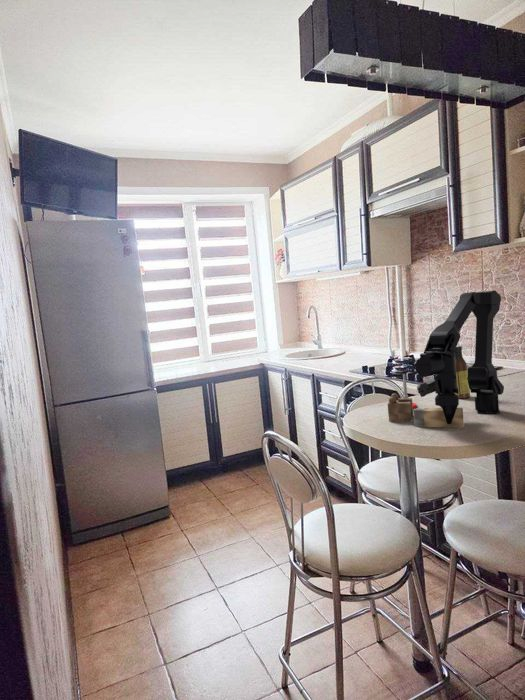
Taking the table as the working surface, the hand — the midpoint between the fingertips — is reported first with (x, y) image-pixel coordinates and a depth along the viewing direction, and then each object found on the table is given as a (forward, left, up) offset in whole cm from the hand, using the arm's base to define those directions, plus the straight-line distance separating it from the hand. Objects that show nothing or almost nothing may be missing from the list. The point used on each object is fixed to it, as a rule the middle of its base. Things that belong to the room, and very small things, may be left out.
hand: (449, 421), depth 133 cm
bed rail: (+3, 0, -1) cm, 3 cm away
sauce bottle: (-3, -39, -1) cm, 39 cm away
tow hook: (+16, -24, -1) cm, 29 cm away
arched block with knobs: (+15, -8, -1) cm, 17 cm away
